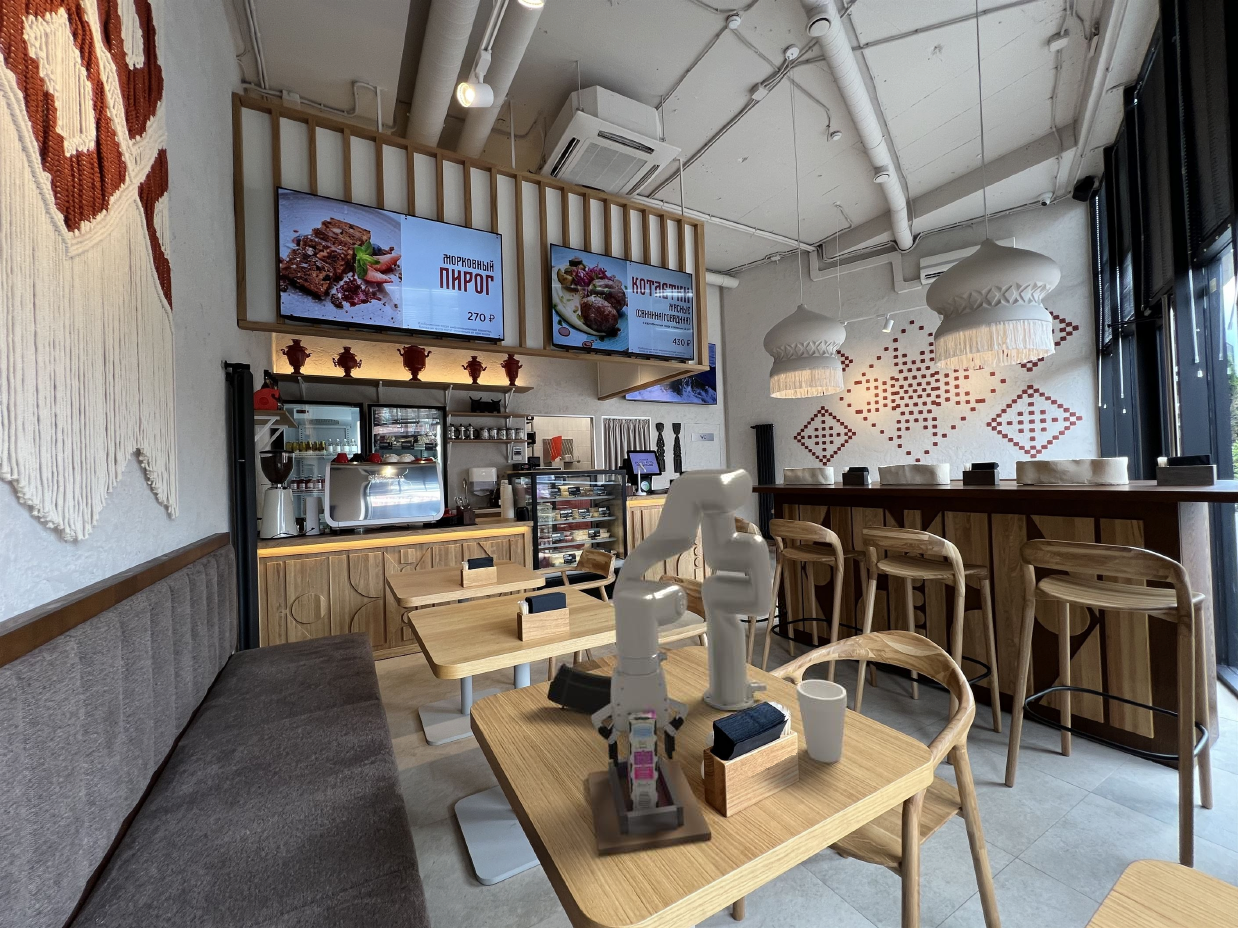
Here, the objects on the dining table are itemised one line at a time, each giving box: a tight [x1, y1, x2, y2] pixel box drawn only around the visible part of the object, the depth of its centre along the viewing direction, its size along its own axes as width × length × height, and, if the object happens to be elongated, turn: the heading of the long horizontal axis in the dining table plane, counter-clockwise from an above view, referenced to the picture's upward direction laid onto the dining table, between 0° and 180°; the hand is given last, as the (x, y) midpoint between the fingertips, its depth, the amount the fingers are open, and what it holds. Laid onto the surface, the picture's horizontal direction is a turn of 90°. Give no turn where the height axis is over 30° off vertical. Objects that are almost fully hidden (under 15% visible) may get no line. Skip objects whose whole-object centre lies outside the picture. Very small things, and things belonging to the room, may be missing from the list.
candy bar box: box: [626, 711, 659, 811], centre depth 89 cm, size 11×5×16 cm, turn 2°
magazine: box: [546, 663, 612, 719], centre depth 122 cm, size 17×3×30 cm
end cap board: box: [587, 754, 713, 857], centre depth 88 cm, size 18×20×4 cm
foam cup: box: [796, 679, 848, 763], centre depth 102 cm, size 10×9×13 cm
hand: (642, 758), depth 88 cm, fingers open, 9 cm apart
